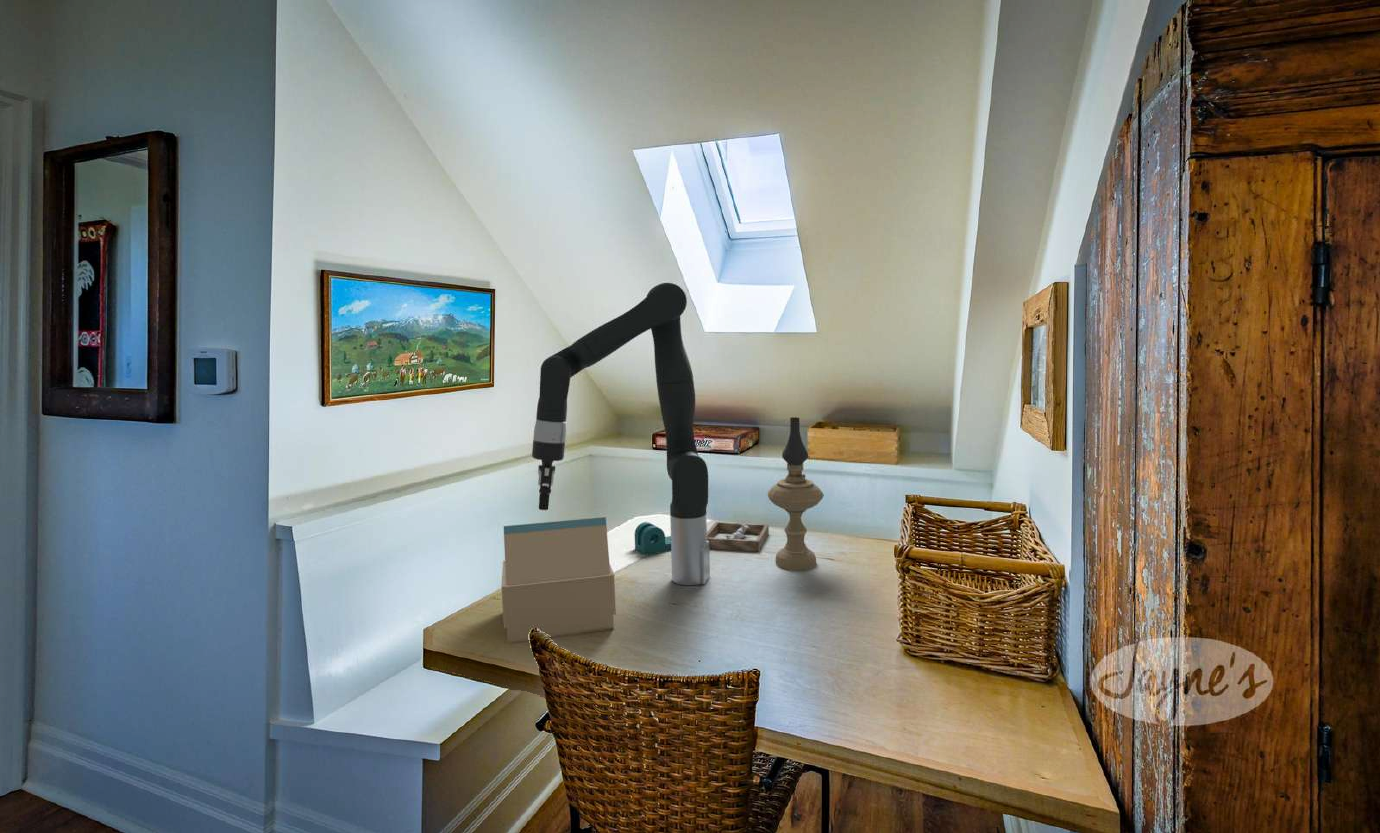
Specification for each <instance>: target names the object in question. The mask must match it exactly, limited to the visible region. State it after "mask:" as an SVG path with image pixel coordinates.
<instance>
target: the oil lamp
mask: <svg viewBox="0 0 1380 833" xmlns="http://www.w3.org/2000/svg"><path fill="white" fill-rule="evenodd" d="M789 421H790V422H789V425H790V426H789V430H790V431H789V436H788V439H787V442H786V444H785V447H784V449H783V451H782V455H781V457H782V459H783V460H784V461H785V462H786V470H787V471H788V474H787V475H786V476H785V478H783V479H780V480H777V482H776V483H775V484H774V485H772V487H771V488H770V489H769V490H768V492H767V493H766V494H767V497H768V499H769V500H770V501H771V503H772V504H774V506H777V507H779V508H781V509H782V510H784V511H786V513H787V514H788V515H789V521H788V523H787V524H786V527H784V529H783V530H784V533H785V534H786V543H785V545H784V546H783V548H781V549H779V551H778V552H777V553H776V555H775V565H776V566H777V567H778V568H781V569H784V570H788V571H789V570H791V571H806V570H809V569H813V568H815V567H816V566H817V557H816V555H815V553H814V552H813V550H811V549H809V548H808V547H807V544H806V543H805V535H806V534H807V532H808V529H807V528H806V526H805V525H804V523H803V522H802V516H803V514H804V513H805V512H806V511H807V510H809V509H811V508H812V509H813V508H814V507H816V506H817V505H819V503H820V502H821V501H822V500H823V498H824V496H825V495H824V492H822V490H821V488H819V486H818V485H816V484H815V483H814V482H813V480H811V479H809V478H808V479H807V478H806V474H805V473H804V474H803V471H804V463H805V461H807V460H808V458H809V453H808V451H807V448H806V447H805V445H804V442H803V439H802V436H801V430H800V428H801V427H800V417H794V416H792V417H790V418H789Z"/></svg>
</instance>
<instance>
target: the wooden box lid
mask: <svg viewBox="0 0 1380 833" xmlns="http://www.w3.org/2000/svg"><path fill="white" fill-rule="evenodd" d="M607 530H608V529H607V517H606V516H604V517H594V518H580V519H571V520H559V521H547V522H538V523H536V522H535V523H525V524H512V525H504V526H503V542H504V543H503V545H504V561H505V570H506V586H507V585H517V584H526V583H535V582H544V581H553V580H562V579H571V578H580V577H590V576H599V575H608V574H610V566H611V564H609V563H610V555H609V554H610V552H609V540H608V531H607Z"/></svg>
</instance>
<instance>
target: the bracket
mask: <svg viewBox="0 0 1380 833" xmlns="http://www.w3.org/2000/svg"><path fill="white" fill-rule="evenodd" d="M634 550H635V551H637V552H638V553H640V552H641V554H642V555H643V554H644V556H648V555H653V554H652V553H654V554H659V553H665V552H669V551H670V552H671V535H669V536H666V534H665V531H663V529H662V528H660V527H658V526H656V525H654V524H653V523H651V522H649V521H645V522H641V523H640V524H638V525H637V526H636V528H635V530H634ZM658 552H659V553H658ZM647 554H648V555H647Z"/></svg>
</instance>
